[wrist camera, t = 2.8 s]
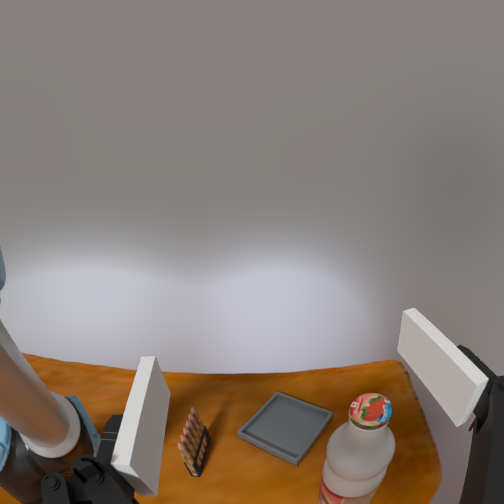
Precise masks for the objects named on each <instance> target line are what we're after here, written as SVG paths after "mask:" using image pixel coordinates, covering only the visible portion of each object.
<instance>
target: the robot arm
mask: <svg viewBox="0 0 504 504" xmlns="http://www.w3.org/2000/svg"><path fill="white" fill-rule="evenodd" d="M5 276H6V275H5V266H4V261H3V256H2V252H1V249H0V291H1V290H2V288H3V287H4V284H5ZM0 300H1V299H0ZM0 302H1V301H0ZM397 351H398V352H399V353H400V355H401V356H402V357H403V358H404V360H405V361H406V362H407V363H408V364H409V366H410V367H411V368H412V369H413V371H414V372H415V373H416V374H417V376H418V377H419V378H420V380H421V381H422V382H423V383H424V385H425V386H426V387H427V388H428V390H429V391H430V392H431V394H432V395H433V396H434V397H435V399H436V400H437V401H438V403H439V404H440V405H441V406H442V408H443V409H444V411H445V412H446V413H447V415H448V416H449V417H450V419H451V420H452V421H453V423H454V424H455V425H456V427H458V426H460V425H461V424H463V423H465V422H467V421H468V420H469V419H470V416H471V415H472V413H474V414H475V415H476V417H475V419H474V421H473V423H472V424H471V426H470V428H469V431H471V429H472V428H473V436H472V444H471V451H470V457H469V463H468V468H467V473H466V478H465V483H464V487H463V492H462V495H461V499H460V503H459V504H504V376H499V377H498V376H496V375H495V374H494V373H493V372H492V371H491V370H490V369H489V368H488V367H487V366H486V365H485V364H484V363H483V362H482V361H480V359H479V358H478V357H477V356H475V355H474V353H472V352H471V351H470V350H469V349H468V348H466V347H464V346H461V345H459V346H457V347H456V346H455V345H454V344H453V343H452V342H451V341H450V340H449V339H448V338H446V336H444V335H443V334H442V333H441V332H440V331H439V330H438V329H437V328H436V327H435V326H434V325H433V324H431V323H430V322H429V321H428V320H427V319H426V318H425V317H424V316H423V315H422V314H420V313H419V312H418V311H417V310H416V309H415V308H412V309H408V310H405V311H403V316H402V323H401V330H400V337H399V343H398V349H397ZM170 395H171V394H170V391H169V389H168V386H167V384H166V382H165V379H164V377H163V374H162V372H161V369H160V367H159V364H158V361H157V359H156V356H149V357H142V358H141V361H140V364H139V367H138V370H137V373H136V376H135V379H134V382H133V385H132V389H131V392H130V395H129V398H128V402H127V405H126V408H125V412H124V415H113V416H112V417H111V418H110V419H109V420H108V422H107V423H106V426H105V429H104V433H103V436H102V439H101V437H100V435H99V434H98V432H97V430H96V428H95V426H94V424H93V423H92V421H91V419H90V417H89V415H88V414H87V412H86V410H85V408H84V407H83V405H82V403H81V401H80V400H79V399H78V397H77V396H74V395H72V396H66V397H63V396H61V395H59V394H57V393H54V392H50V391H49V390H48V389H47V387H46V386H45V385H44V384H43V382H42V381H41V380H40V378H39V377H38V376H37V374H36V373H35V372H34V370H33V369H32V368H31V366H30V365H29V363H28V362H27V361H26V359H25V358H24V356H23V355H22V353H21V352H20V350H19V349H18V348H17V346H16V344H15V343H14V341H13V340H12V338H11V337H10V335H9V333H8V332H7V330H6V328H5V327H4V325H3V323H2V322H1V320H0V486H1V487H2V488H4V489H5V490H6V491H7V492H8V493H10V494H11V495H12V496H13V497H14V498H16V499H17V500H18V501H19V502H20V503H21V504H139V503H138V501H137V500H136V499H135V498H134V492H135V491H136V492H137V493H138V494H139V495H140V496H153V497H157V494H158V484H159V475H160V466H161V458H162V450H163V442H164V435H165V428H166V421H167V414H168V407H169V401H170ZM473 426H474V427H473ZM69 469H70V470H71V474H72V475H73V476H74V477H71V478H68V477H66V476H65V475H63V474H61V473H62V472H65V471H67V470H69Z"/></svg>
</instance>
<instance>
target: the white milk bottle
mask: <svg viewBox="0 0 504 504" xmlns="http://www.w3.org/2000/svg"><path fill="white" fill-rule="evenodd" d="M391 416H392V404H391V402H390V401H389V399H388V398H386V397H385V396H383V395H381V394H377V393H366V394H363V395H360V396H359V397H357V398H356V399H355V400H354V401H353V402H352V404H351V406H350V409H349V421H348V422H346V423H344V424H342V425H341V426H340V427H338V428H337V429H336V430H335V431H334V432H333V434H332V435H331V437H330V439H329V441H328V444H327V448H326V459H325V462H324V465H323V470H322V478H321V485H320V491H319V504H369V503H370V501H371V500H372V498H373V496H374V494H375V493H376V491H377V489H378V487H379V485H380V483H381V482H382V480H383V478H384V476H385V473H386V470H387V466H388V464H389V463H390V462H391V460H392V458H393V455H394V452H395V438H394V435H393V433H392V431H391V430H390V429H389V428H388V426H386V425H387V424H388V422H389V421H390V419H391Z"/></svg>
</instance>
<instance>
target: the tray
mask: <svg viewBox="0 0 504 504" xmlns="http://www.w3.org/2000/svg"><path fill="white" fill-rule="evenodd" d="M332 418H333V412H332V411H329V410H326V409H323V408H320V407H317V406H314V405H312V404H309V403H306V402H303V401H301V400H298V399H295V398H293V397H290V396H288V395H285V394H283V393H280V392H278V391H276V393H275V394H274V395H273V396H272V397H271V398H270V399H269V400H268V401H267V402H266V403H265V404H264V405H263V406H262V407H261V408H260V409H259V410H258V411H257V412H256V413H255V414H254V415H253V416H252V417H251V418H250V419H249V420H248V421H247V422H246V423H245V424H244V425H243V426H242V427H241V428H240V429H239V430H238V431H237V435H238V437H239V438H241V439H243V440H244V441H246V442H248V443H250V444H252V445H254V446H256V447H258V448H260V449H262V450H264V451H266V452H268V453H270V454H272V455H274V456H276V457H278V458H280V459H282V460H284V461H287V462H289V463H291V464H293V465H296V466H298V465H299V463H300V462H301V461H302V459H303V458H304V457H305V456H306V454H307V453H308V452H309V450H310V449H311V448H312V446H313V445H314V443H315V442H316V441H317V439H318V438H319V436H320V435H321V434H322V432H323V431H324V429H325V428H326V426H327V425H328V424H329V422H330V421H331V419H332Z"/></svg>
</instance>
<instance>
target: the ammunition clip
mask: <svg viewBox="0 0 504 504" xmlns="http://www.w3.org/2000/svg"><path fill="white" fill-rule="evenodd" d="M188 417H189V421H188V420H186V426H187V428H186V427H184V429H183V430H184V435H185V436H184V435H183V434H181V441H182V443H183V444H182V443H181V442H178V447H179V450H180V452H181V455H182V457H183V459H184V461H185V463H184V464H185V466H186V468H187V469H188V471H189V473H190V475H191V476H195V477H200V475H201V472H202V468H203V465H204V461H205V457H206V454H207V450H208V447H209V443H210V439H211V438H210V436H209V433H208V431H207V429H206V426H204V425H203V423H202V420H201V418H200V417H199V415H198V413H197V411H196V410H195V408H194V407H191V413H189V415H188Z"/></svg>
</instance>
